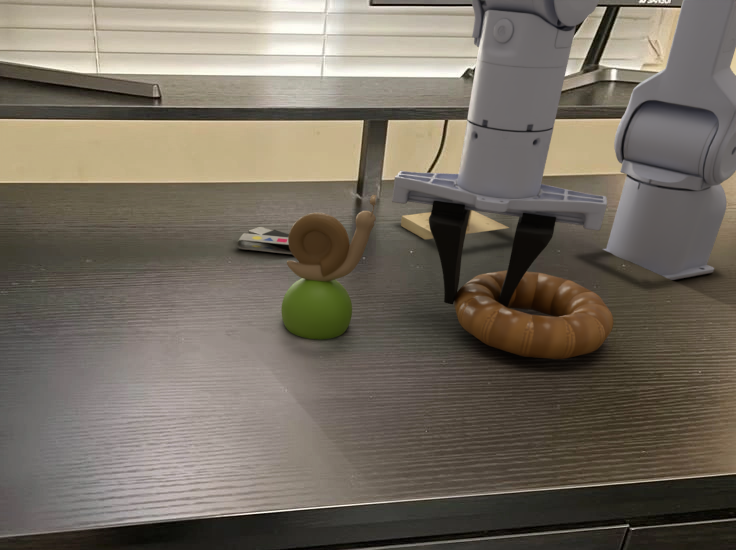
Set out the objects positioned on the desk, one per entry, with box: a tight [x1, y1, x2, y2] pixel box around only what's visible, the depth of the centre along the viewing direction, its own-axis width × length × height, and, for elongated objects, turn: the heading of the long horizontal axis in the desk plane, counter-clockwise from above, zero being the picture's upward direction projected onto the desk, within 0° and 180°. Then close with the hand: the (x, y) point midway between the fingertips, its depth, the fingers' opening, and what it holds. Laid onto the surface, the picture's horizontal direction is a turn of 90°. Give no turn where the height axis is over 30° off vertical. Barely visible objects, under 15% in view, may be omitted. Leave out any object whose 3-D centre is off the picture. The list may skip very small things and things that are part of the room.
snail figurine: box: [280, 194, 378, 340], centre depth 55 cm, size 5×6×12 cm
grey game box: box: [236, 226, 293, 255], centre depth 75 cm, size 9×5×1 cm, turn 49°
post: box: [400, 172, 510, 240], centre depth 80 cm, size 9×9×7 cm
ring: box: [453, 269, 615, 360], centre depth 56 cm, size 11×11×3 cm
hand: (475, 303), depth 57 cm, fingers closed on ring, 3 cm apart
